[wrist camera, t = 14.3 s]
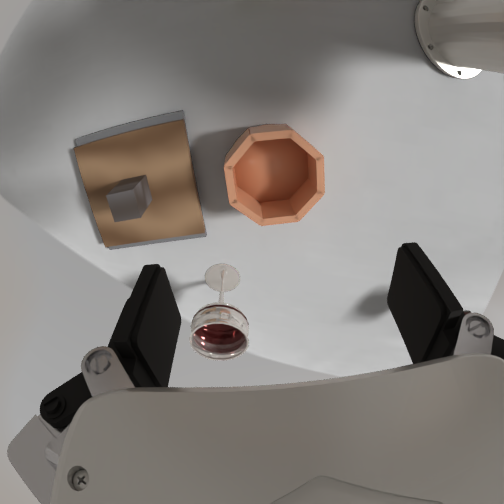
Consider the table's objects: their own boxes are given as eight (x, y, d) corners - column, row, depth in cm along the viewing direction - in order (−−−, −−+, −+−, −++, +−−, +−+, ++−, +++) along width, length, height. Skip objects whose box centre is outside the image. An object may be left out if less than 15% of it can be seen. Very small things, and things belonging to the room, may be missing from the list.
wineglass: (191, 285, 43) (180, 349, 33) (211, 250, 40) (203, 313, 30) (232, 302, 45) (232, 366, 35) (255, 270, 42) (261, 334, 32)
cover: (77, 146, 31) (52, 159, 26) (184, 118, 30) (173, 126, 25) (107, 243, 38) (91, 268, 33) (205, 229, 38) (200, 255, 33)
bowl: (222, 129, 32) (219, 137, 27) (309, 120, 32) (322, 127, 27) (234, 208, 37) (233, 229, 33) (313, 199, 37) (324, 218, 32)
